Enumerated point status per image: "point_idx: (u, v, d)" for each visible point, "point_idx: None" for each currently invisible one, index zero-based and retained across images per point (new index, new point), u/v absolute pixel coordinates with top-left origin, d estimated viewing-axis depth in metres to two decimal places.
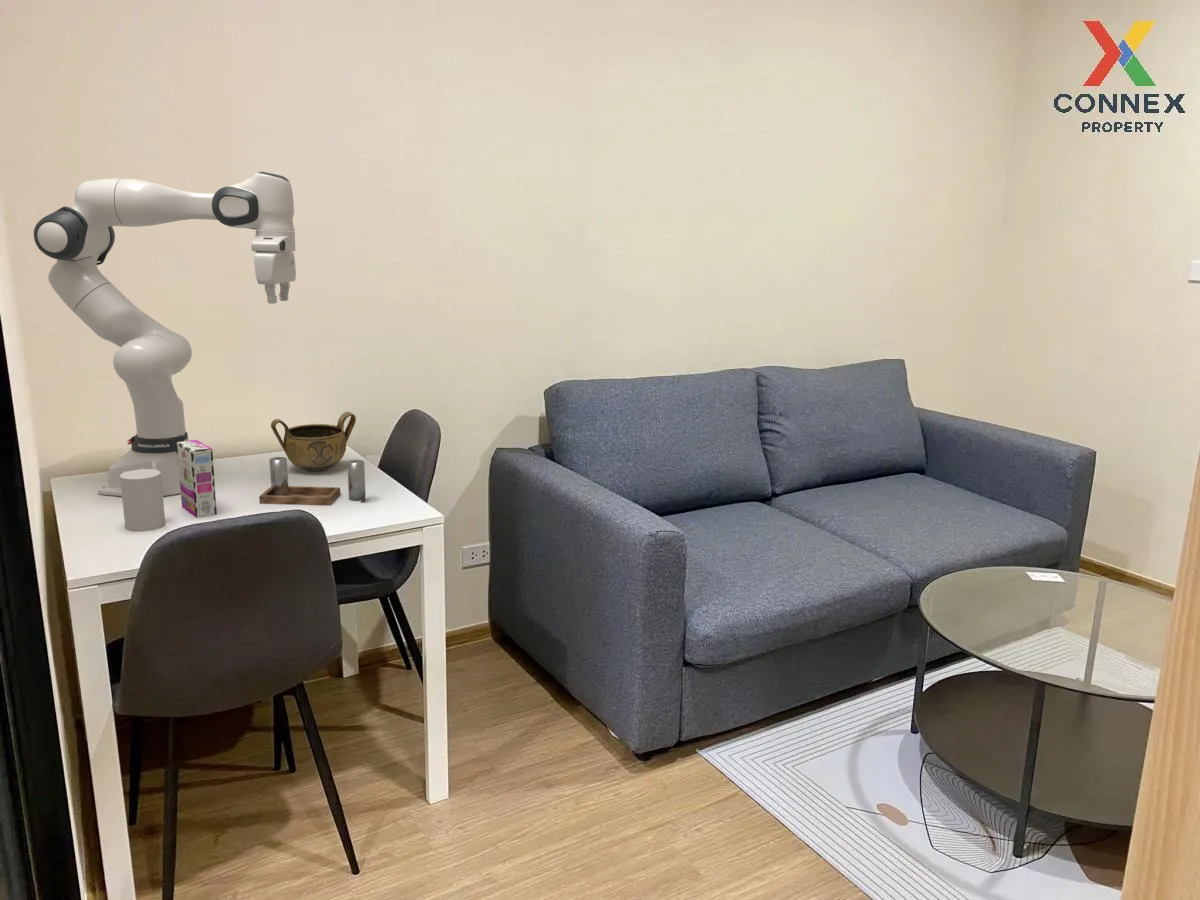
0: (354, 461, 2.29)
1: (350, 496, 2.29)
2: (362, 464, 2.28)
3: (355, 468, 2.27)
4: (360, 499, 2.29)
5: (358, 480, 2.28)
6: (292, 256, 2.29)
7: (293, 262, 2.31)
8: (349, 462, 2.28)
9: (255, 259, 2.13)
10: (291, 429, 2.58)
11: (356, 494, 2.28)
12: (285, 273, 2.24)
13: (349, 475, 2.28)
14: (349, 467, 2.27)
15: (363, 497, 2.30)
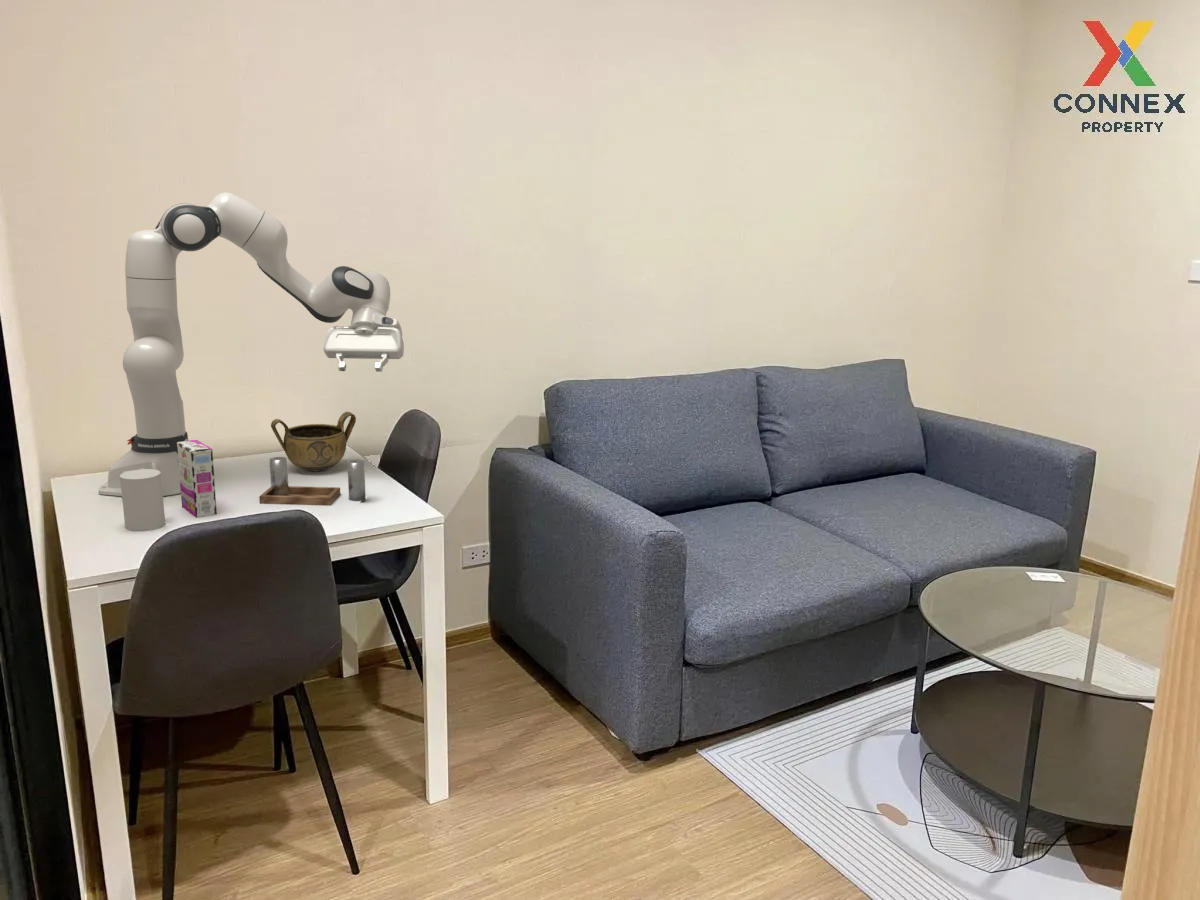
0: (354, 461, 2.29)
1: (350, 496, 2.29)
2: (362, 464, 2.28)
3: (355, 468, 2.27)
4: (360, 499, 2.29)
5: (359, 480, 2.28)
6: None
7: None
8: (349, 462, 2.28)
9: (400, 333, 2.41)
10: (291, 429, 2.58)
11: (356, 494, 2.28)
12: None
13: (349, 475, 2.28)
14: (349, 467, 2.27)
15: (363, 497, 2.30)
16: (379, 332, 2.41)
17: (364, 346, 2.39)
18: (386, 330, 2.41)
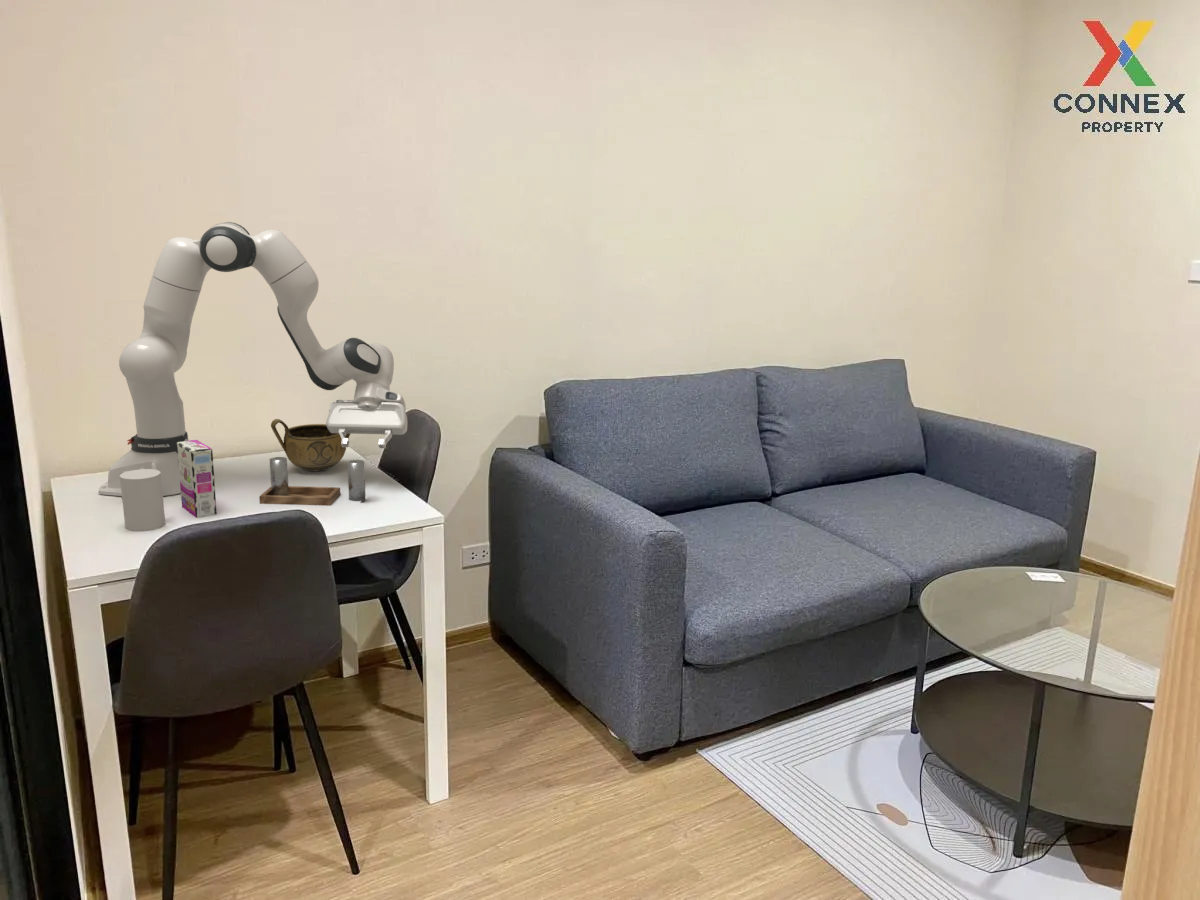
0: (354, 461, 2.29)
1: (350, 496, 2.29)
2: (362, 464, 2.28)
3: (355, 468, 2.27)
4: (360, 499, 2.29)
5: (359, 480, 2.28)
6: None
7: None
8: (349, 462, 2.28)
9: (404, 409, 2.38)
10: (291, 429, 2.58)
11: (356, 494, 2.28)
12: None
13: (349, 475, 2.28)
14: (349, 467, 2.27)
15: (363, 497, 2.30)
16: (382, 407, 2.38)
17: (368, 422, 2.37)
18: (390, 405, 2.38)
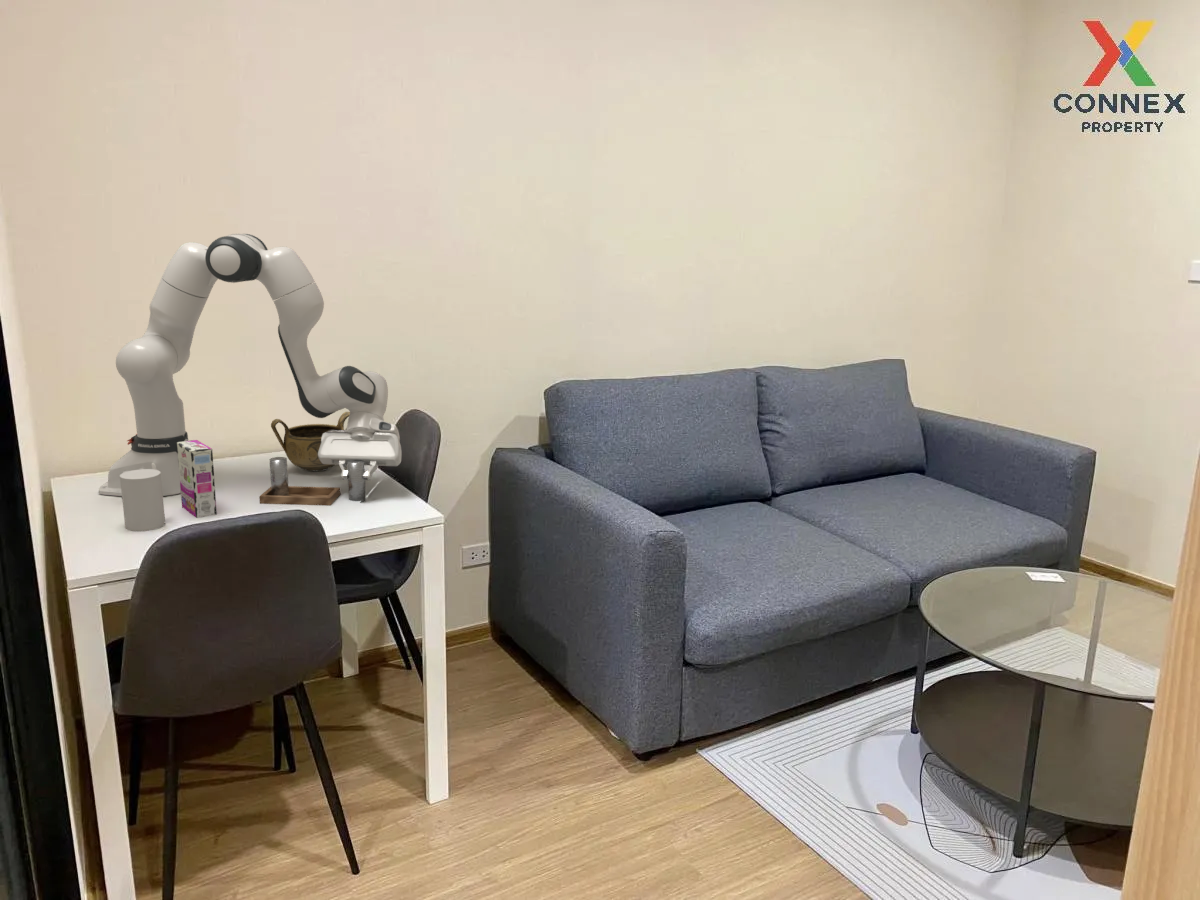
0: (354, 461, 2.29)
1: (350, 496, 2.29)
2: (362, 464, 2.28)
3: (355, 468, 2.27)
4: (360, 499, 2.29)
5: (359, 480, 2.28)
6: None
7: None
8: (349, 462, 2.28)
9: (398, 440, 2.32)
10: (291, 429, 2.58)
11: (356, 494, 2.28)
12: None
13: (349, 475, 2.28)
14: (349, 467, 2.27)
15: (363, 497, 2.30)
16: (375, 437, 2.32)
17: (361, 453, 2.30)
18: (383, 436, 2.32)
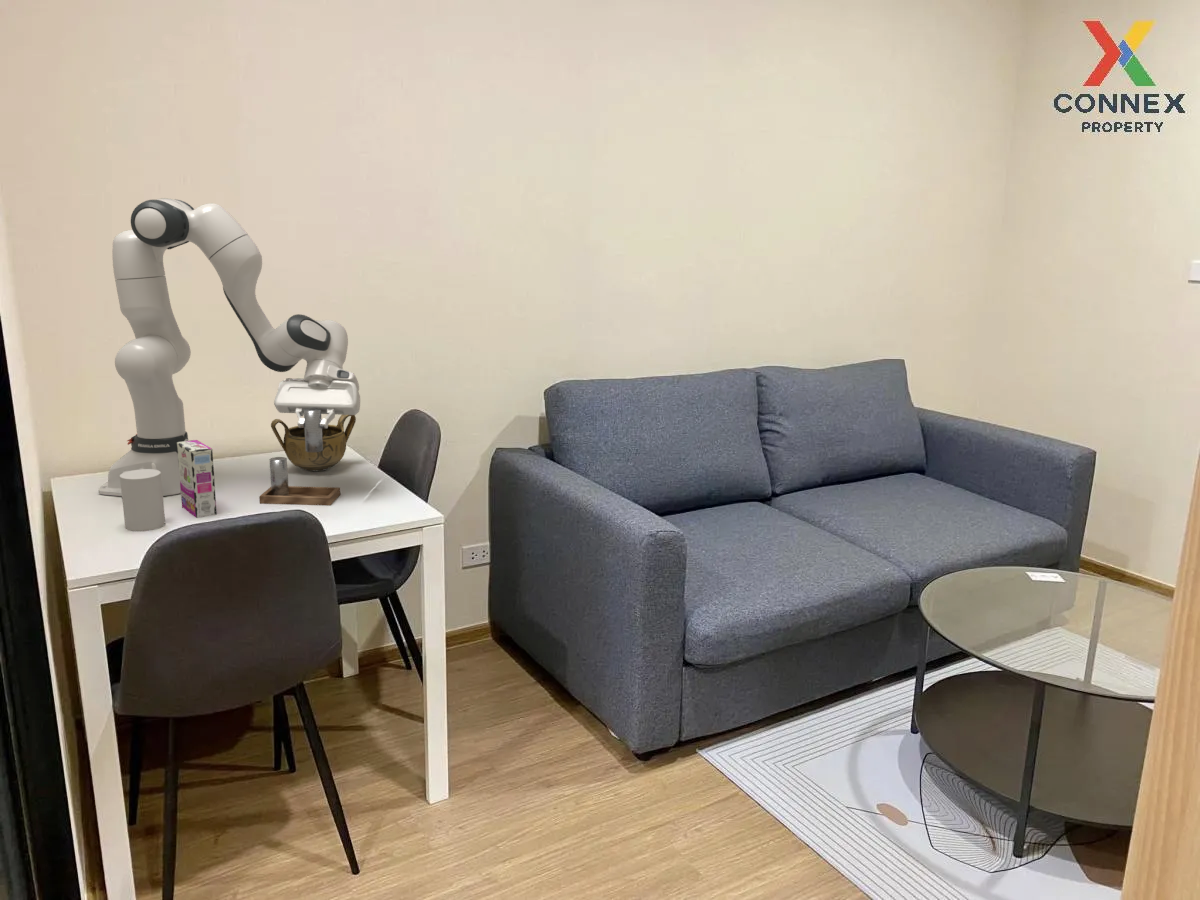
0: (310, 409, 2.24)
1: (306, 445, 2.24)
2: (319, 412, 2.23)
3: (311, 416, 2.22)
4: (317, 448, 2.24)
5: (315, 429, 2.23)
6: None
7: None
8: (305, 410, 2.23)
9: (356, 388, 2.28)
10: (291, 429, 2.58)
11: (313, 443, 2.24)
12: None
13: (305, 423, 2.23)
14: (305, 415, 2.22)
15: (320, 446, 2.25)
16: (333, 386, 2.28)
17: (318, 401, 2.26)
18: (341, 384, 2.28)
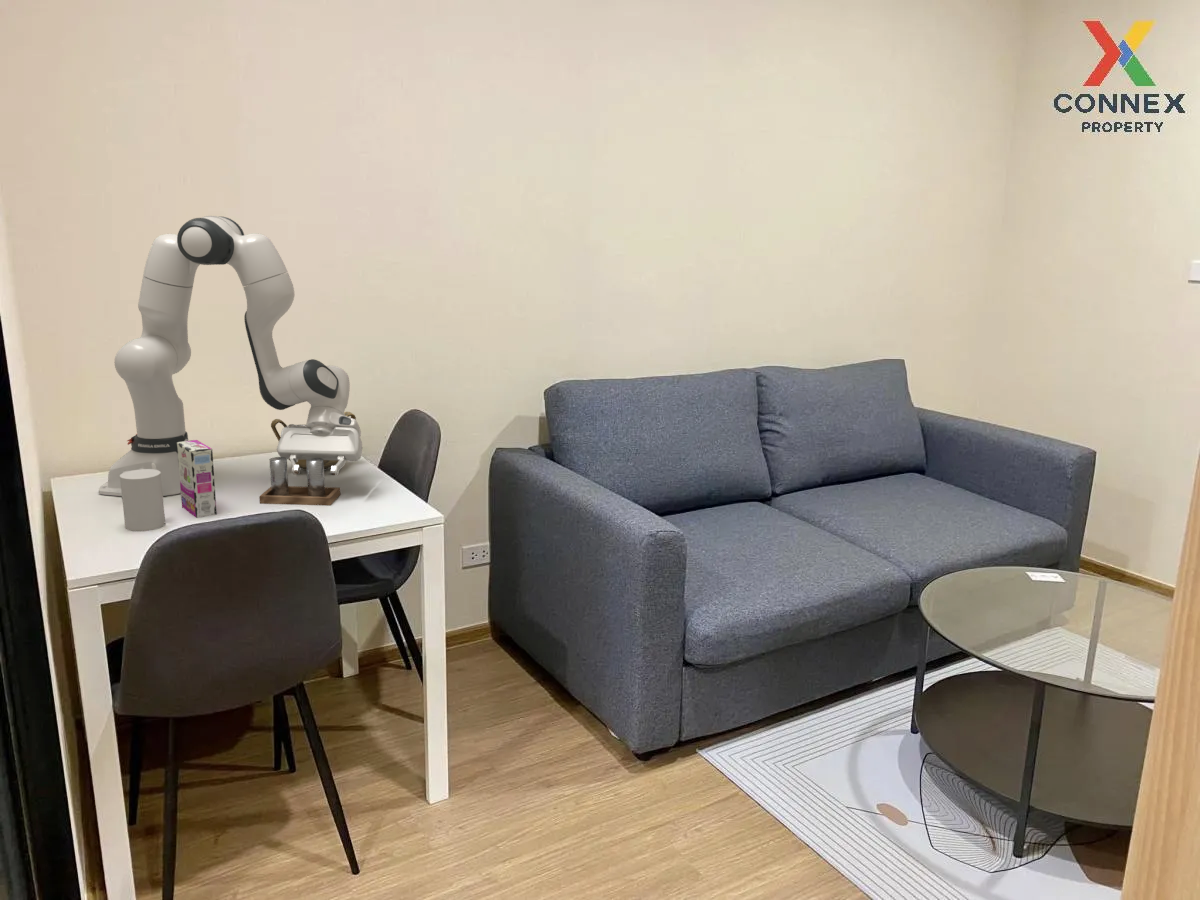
0: (313, 459, 2.27)
1: (309, 494, 2.27)
2: (321, 462, 2.26)
3: (314, 466, 2.25)
4: None
5: (317, 478, 2.26)
6: None
7: None
8: (308, 460, 2.26)
9: (358, 434, 2.30)
10: None
11: (315, 493, 2.27)
12: None
13: (308, 473, 2.26)
14: (308, 465, 2.25)
15: (322, 495, 2.28)
16: (335, 432, 2.30)
17: (320, 447, 2.29)
18: (343, 431, 2.30)
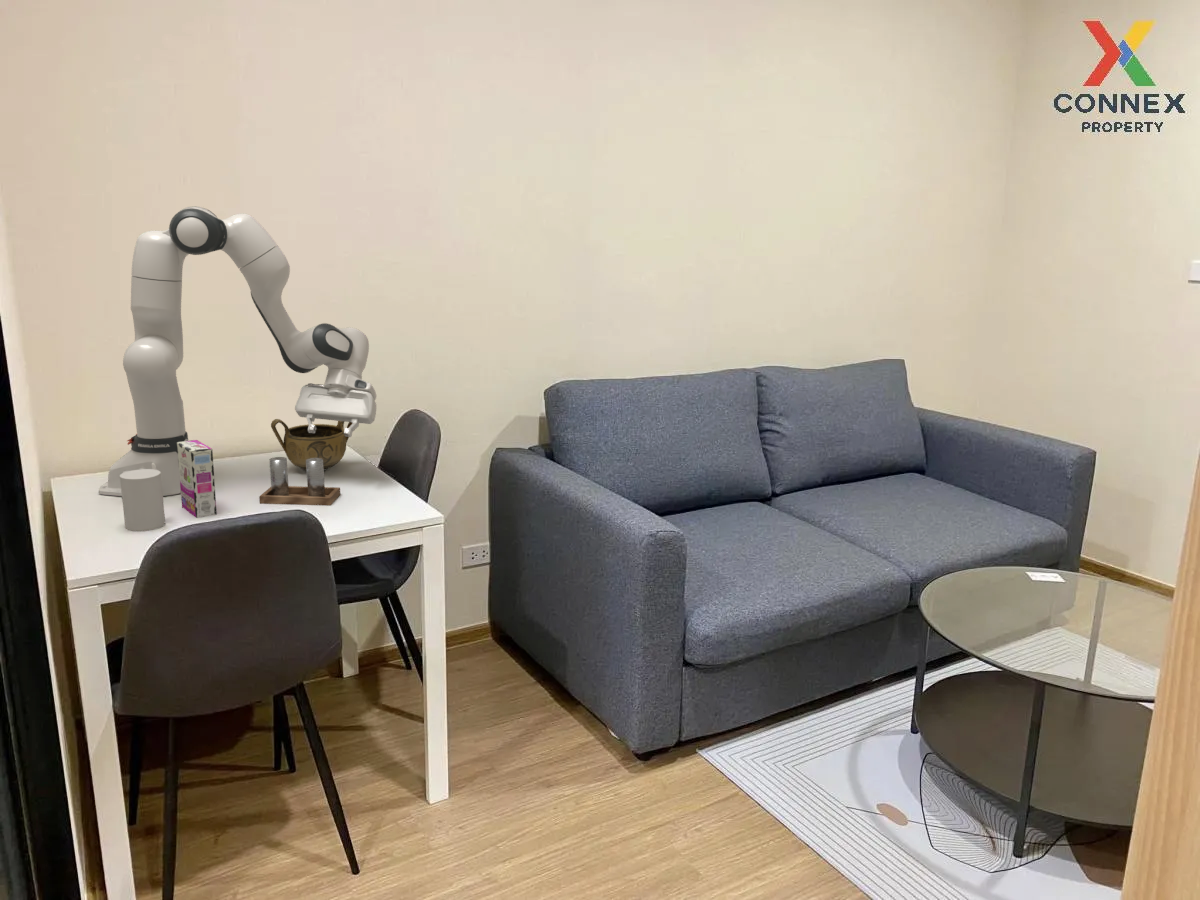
0: (312, 459, 2.27)
1: (309, 494, 2.27)
2: (321, 462, 2.26)
3: (313, 466, 2.25)
4: None
5: (317, 478, 2.26)
6: None
7: None
8: (307, 460, 2.26)
9: (372, 398, 2.38)
10: (291, 429, 2.58)
11: (315, 492, 2.27)
12: None
13: (308, 473, 2.26)
14: (307, 465, 2.25)
15: (322, 495, 2.28)
16: (351, 395, 2.39)
17: (335, 409, 2.37)
18: (358, 394, 2.38)
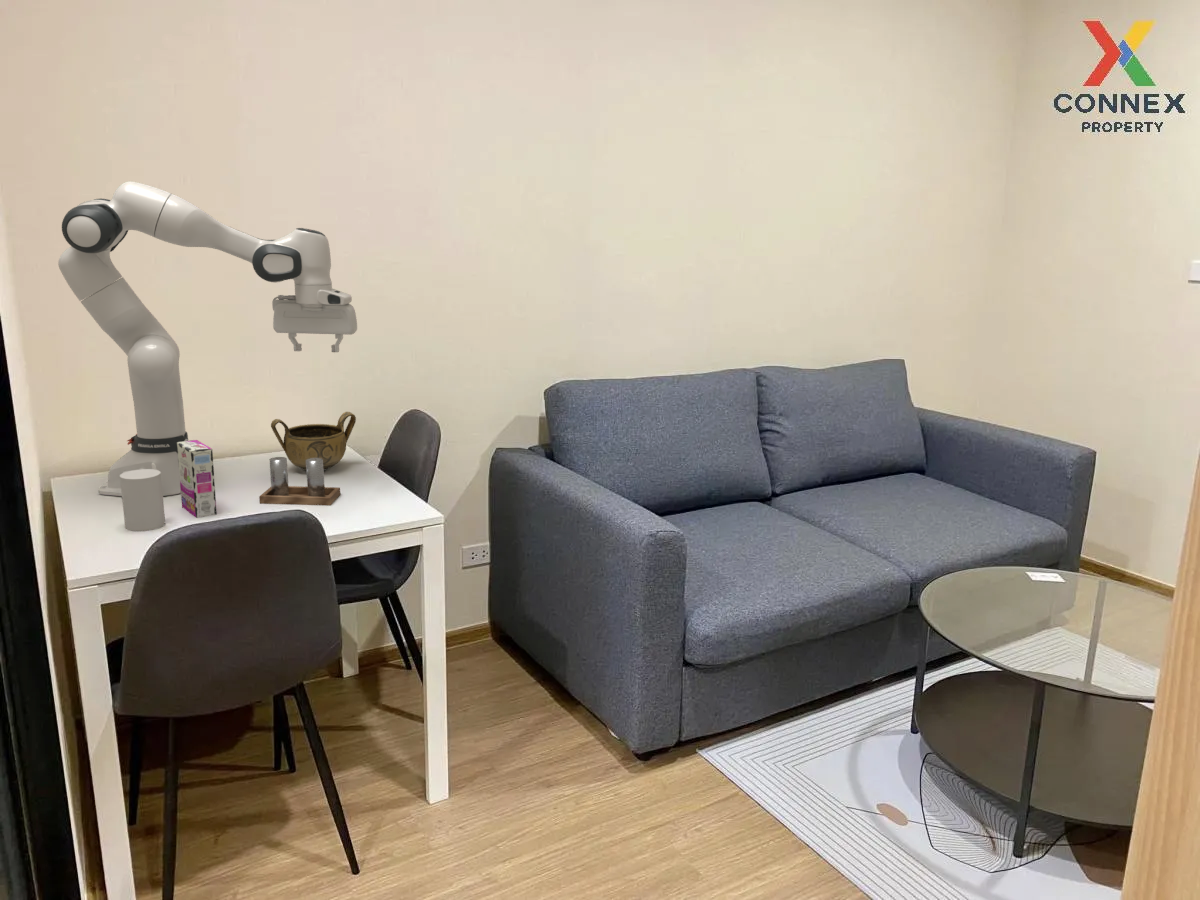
0: (312, 459, 2.27)
1: (309, 494, 2.27)
2: (320, 462, 2.26)
3: (313, 466, 2.25)
4: None
5: (317, 478, 2.26)
6: None
7: None
8: (307, 460, 2.26)
9: (350, 312, 2.29)
10: (291, 429, 2.58)
11: (315, 492, 2.27)
12: None
13: (308, 473, 2.26)
14: (307, 465, 2.25)
15: (322, 495, 2.28)
16: (327, 310, 2.29)
17: (316, 327, 2.30)
18: (335, 309, 2.29)
